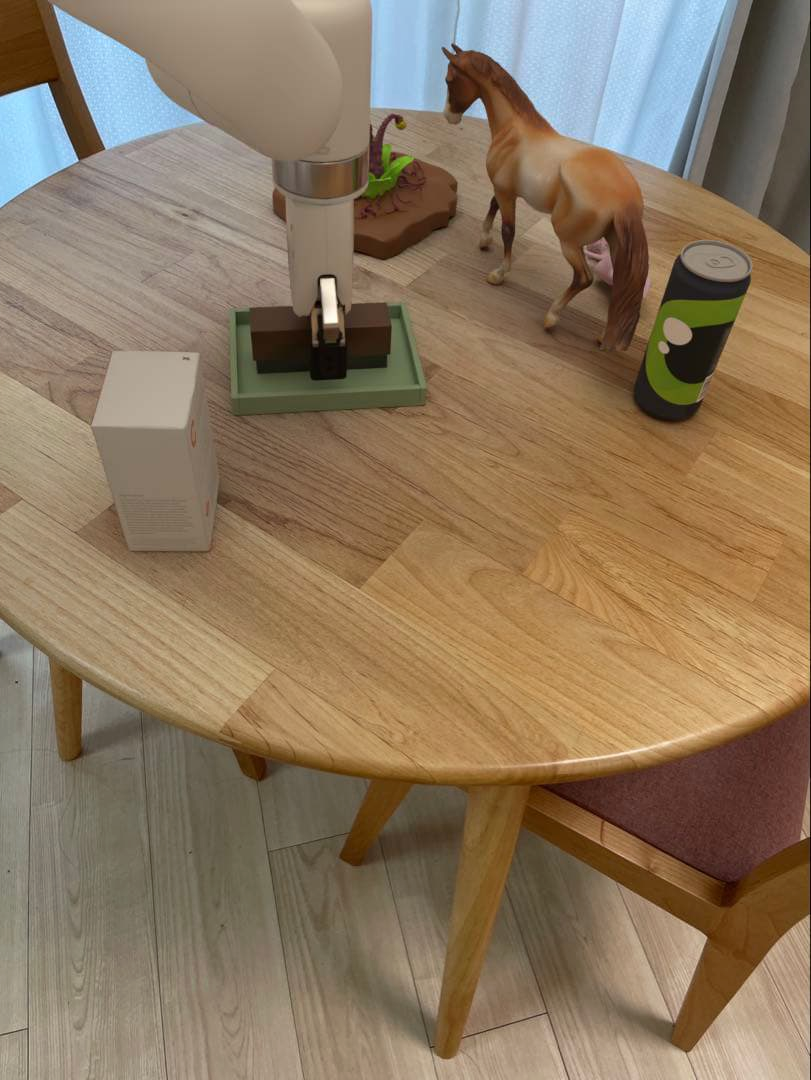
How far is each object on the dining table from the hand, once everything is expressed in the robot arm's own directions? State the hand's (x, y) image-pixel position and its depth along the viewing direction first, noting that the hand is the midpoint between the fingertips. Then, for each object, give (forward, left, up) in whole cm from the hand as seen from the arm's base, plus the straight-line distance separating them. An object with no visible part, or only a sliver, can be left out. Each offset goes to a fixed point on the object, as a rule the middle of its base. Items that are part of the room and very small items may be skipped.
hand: (323, 344), depth 81 cm
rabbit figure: (+32, +12, -2) cm, 34 cm away
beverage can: (+31, -8, -2) cm, 32 cm away
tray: (0, 0, -2) cm, 2 cm away
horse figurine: (+20, +7, -2) cm, 21 cm away
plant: (+7, +28, -2) cm, 29 cm away
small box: (-13, -18, -2) cm, 22 cm away
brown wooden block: (0, 0, -2) cm, 2 cm away
